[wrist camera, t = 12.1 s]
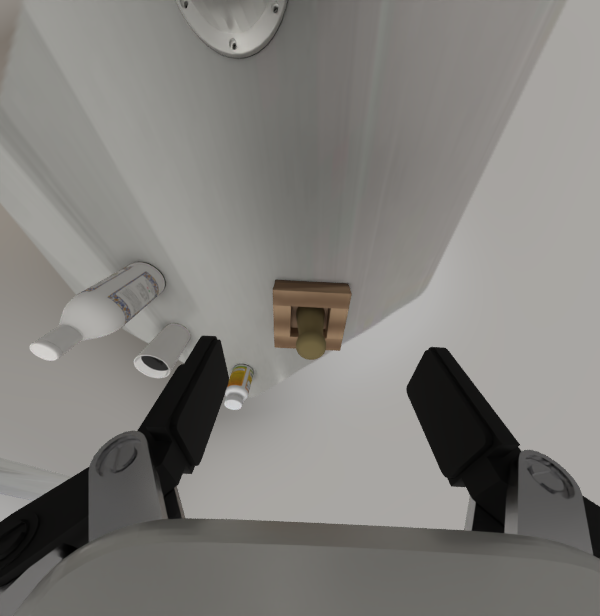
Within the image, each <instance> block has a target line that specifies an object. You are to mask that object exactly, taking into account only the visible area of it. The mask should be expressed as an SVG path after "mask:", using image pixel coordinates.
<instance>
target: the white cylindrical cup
mask: <svg viewBox="0 0 600 616" xmlns="http://www.w3.org/2000/svg"><path fill="white" fill-rule="evenodd" d="M190 337H191V334H190V332H189V330H188V329H187V328H186V327H184V326H182V325H180V324H176V323H173V324H169V325H167V326H166V327H165V328H164V329H163V330H162V331H161V332H160V333H159V334H158V335H157V336H156V337H155V338H154V339H153V340H152V341H151V342H150V343H149V344H148V345H147V346H146V347H145V349H144V350H143V351H142V352H141V353H140V354H139V355H138V356H137V357H136V358H135V359H134V365H135V367H136V368H137V370H139V371H140V372H141V373H143V374H145V375H147V376H149V377H154V378H164V377H166V376H168V375H169V373H170V371H171V370H172V368H173V367H174V365H175V363H176V361H177V360H178V358H179V357H180V355H181V353H182V351H183V350H184V348H185V346H186V345H187V343H188V341H189V340H190Z"/></svg>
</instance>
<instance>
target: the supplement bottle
mask: <svg viewBox="0 0 600 616" xmlns="http://www.w3.org/2000/svg"><path fill="white" fill-rule="evenodd" d="M252 377H253V370H252V368H251V367H249V366H247V365H242V364H240V365H237V366H235V367H234V368H233V371H232V373H231V376H230V379H229V383H228V386H227V389H226V392H225V395H226V399H225V403H224V405H225V406H226V407H227V408H229V409H232V410H238V409H240V408H241V406H242V404H243V401H244V400H245V399H246V398H247V396H248V393H249V389H250V385H251V381H252Z"/></svg>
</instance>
